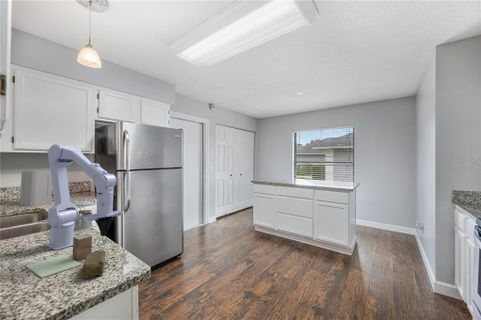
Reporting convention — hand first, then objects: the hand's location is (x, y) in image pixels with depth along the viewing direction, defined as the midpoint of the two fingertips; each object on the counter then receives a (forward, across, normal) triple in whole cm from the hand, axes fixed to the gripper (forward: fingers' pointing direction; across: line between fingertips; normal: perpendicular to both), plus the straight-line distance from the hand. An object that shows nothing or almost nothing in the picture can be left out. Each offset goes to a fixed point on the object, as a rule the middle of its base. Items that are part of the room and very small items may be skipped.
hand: (103, 235), depth 90 cm
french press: (+7, +10, +40) cm, 42 cm away
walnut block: (+6, -8, 0) cm, 10 cm away
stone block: (+7, -10, -15) cm, 19 cm away
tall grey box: (+7, +18, +143) cm, 144 cm away
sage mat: (+6, -16, 0) cm, 17 cm away
